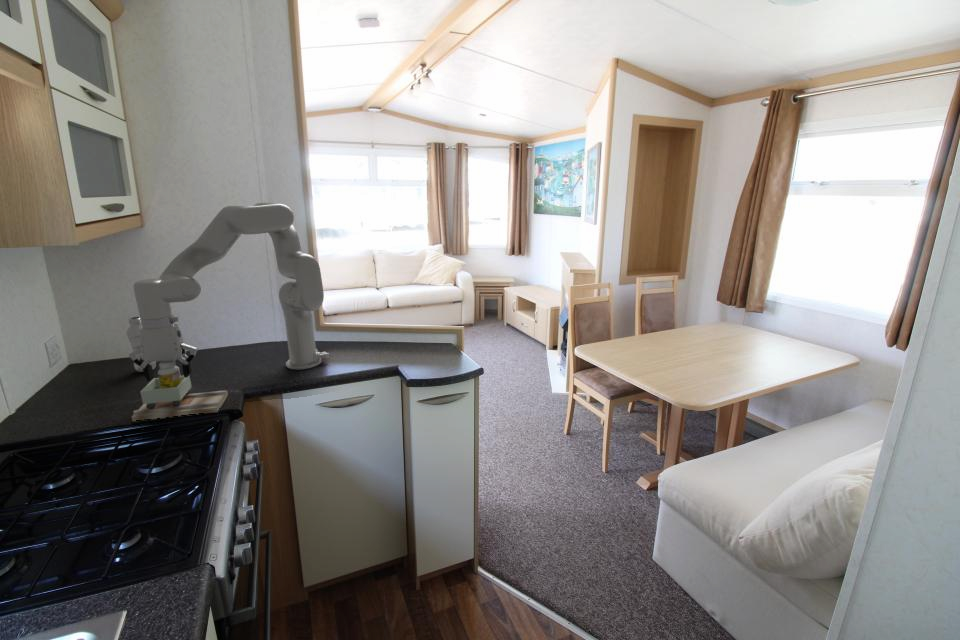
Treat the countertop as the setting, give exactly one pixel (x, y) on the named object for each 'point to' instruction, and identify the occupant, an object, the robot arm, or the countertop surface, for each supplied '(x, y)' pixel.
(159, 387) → the sage green storage bin
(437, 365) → the countertop surface
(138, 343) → the plastic bottle
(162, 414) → the track
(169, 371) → the supplement bottle
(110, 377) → the countertop surface
